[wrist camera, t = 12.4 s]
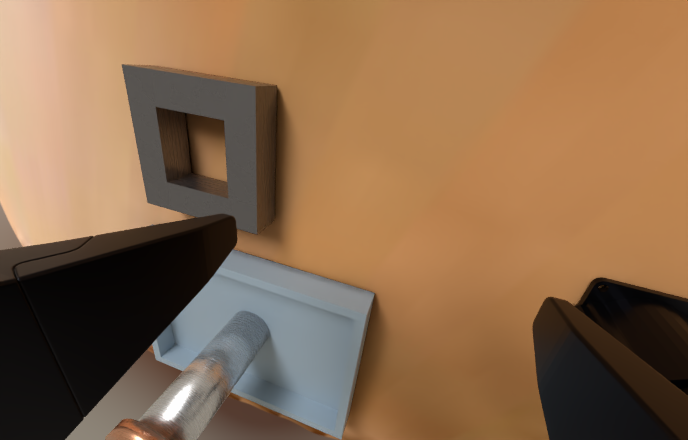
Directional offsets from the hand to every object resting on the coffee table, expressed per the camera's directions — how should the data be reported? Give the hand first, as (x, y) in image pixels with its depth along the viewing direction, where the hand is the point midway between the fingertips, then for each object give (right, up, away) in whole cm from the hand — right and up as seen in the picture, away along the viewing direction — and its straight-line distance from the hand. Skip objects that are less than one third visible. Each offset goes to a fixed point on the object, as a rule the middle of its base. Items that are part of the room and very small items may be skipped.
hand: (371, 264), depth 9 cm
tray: (-10, -9, +22) cm, 25 cm away
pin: (-10, -9, +21) cm, 25 cm away
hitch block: (-10, +7, +15) cm, 19 cm away
